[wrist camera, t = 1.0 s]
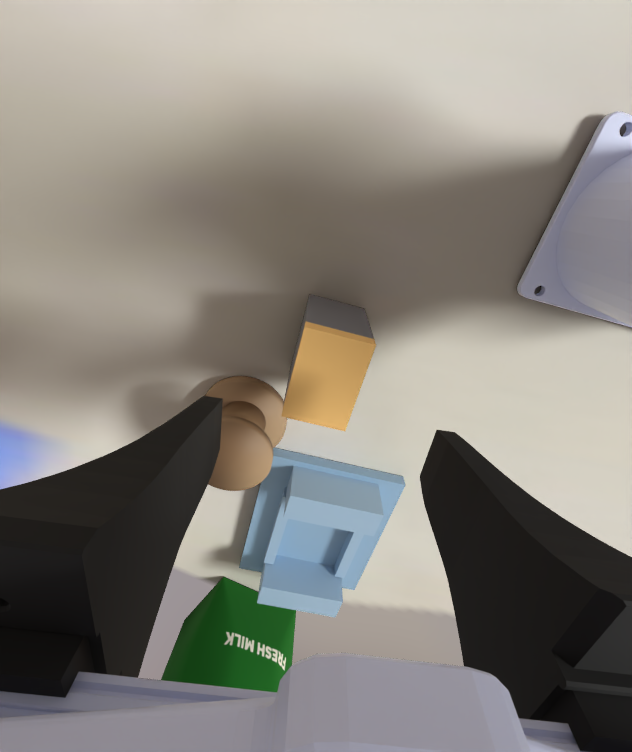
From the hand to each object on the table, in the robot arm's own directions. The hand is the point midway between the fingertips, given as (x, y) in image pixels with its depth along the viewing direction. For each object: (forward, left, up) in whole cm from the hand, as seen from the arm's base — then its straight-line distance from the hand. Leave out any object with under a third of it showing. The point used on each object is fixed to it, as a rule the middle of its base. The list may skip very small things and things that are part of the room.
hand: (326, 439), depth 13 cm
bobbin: (+3, +6, -9) cm, 12 cm away
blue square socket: (-3, +13, -9) cm, 17 cm away
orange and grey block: (0, 0, -9) cm, 9 cm away
